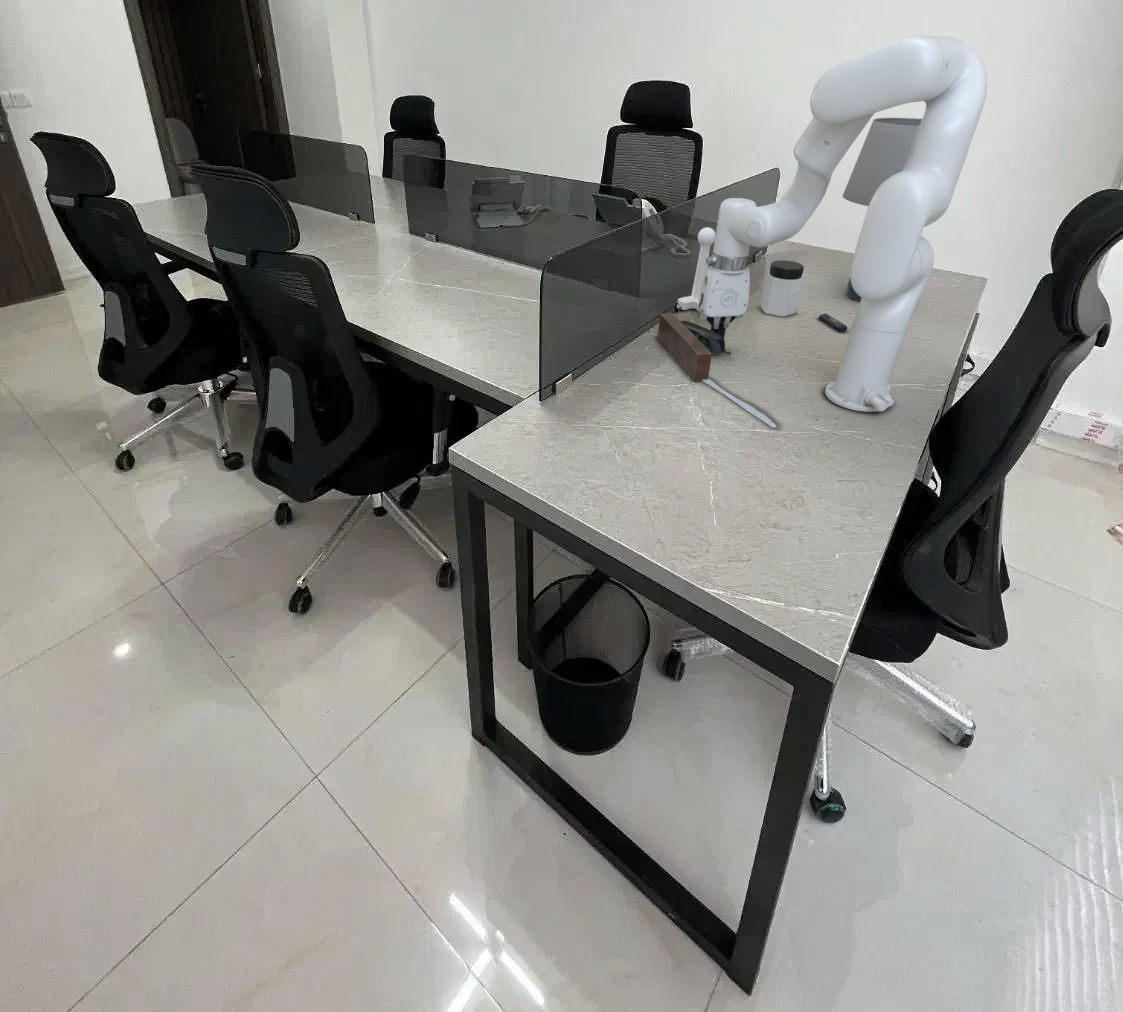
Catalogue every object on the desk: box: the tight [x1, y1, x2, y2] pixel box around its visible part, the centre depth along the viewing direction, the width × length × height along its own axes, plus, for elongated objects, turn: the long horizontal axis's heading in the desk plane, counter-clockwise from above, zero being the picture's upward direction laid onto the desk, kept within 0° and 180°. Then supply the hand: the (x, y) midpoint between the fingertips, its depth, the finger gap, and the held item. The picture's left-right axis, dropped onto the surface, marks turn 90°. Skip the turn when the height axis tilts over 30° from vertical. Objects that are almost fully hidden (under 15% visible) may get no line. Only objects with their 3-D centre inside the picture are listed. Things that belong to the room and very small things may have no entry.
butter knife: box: [701, 377, 778, 429], centre depth 132 cm, size 1×27×3 cm
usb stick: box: [818, 313, 848, 333], centre depth 165 cm, size 10×3×2 cm, turn 15°
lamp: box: [842, 117, 922, 302], centre depth 171 cm, size 25×25×43 cm
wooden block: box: [657, 312, 713, 382], centre depth 145 cm, size 24×3×6 cm, turn 12°
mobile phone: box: [680, 320, 732, 356], centre depth 150 cm, size 5×3×15 cm
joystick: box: [676, 226, 716, 312], centre depth 168 cm, size 11×8×20 cm
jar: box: [760, 259, 805, 317], centre depth 170 cm, size 9×8×12 cm
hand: (715, 342), depth 152 cm, fingers closed
